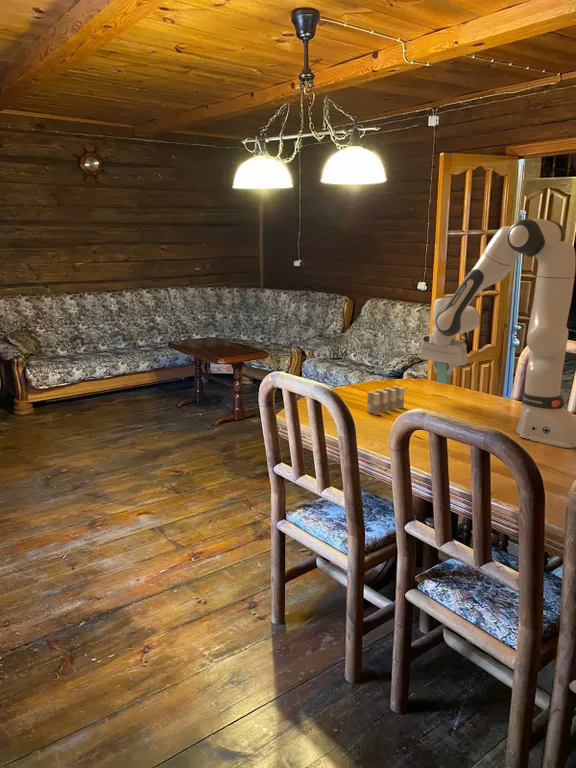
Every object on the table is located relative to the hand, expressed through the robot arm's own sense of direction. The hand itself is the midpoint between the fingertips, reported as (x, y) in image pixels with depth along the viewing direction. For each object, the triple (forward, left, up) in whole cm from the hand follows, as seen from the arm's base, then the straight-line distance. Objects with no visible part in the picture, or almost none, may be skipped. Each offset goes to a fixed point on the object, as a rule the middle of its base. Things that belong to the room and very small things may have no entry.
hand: (442, 373), depth 231 cm
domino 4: (+10, +15, -13) cm, 22 cm away
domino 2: (+10, +24, -13) cm, 29 cm away
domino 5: (0, 0, -4) cm, 4 cm away
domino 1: (+10, +28, -13) cm, 33 cm away
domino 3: (+10, +19, -13) cm, 25 cm away
